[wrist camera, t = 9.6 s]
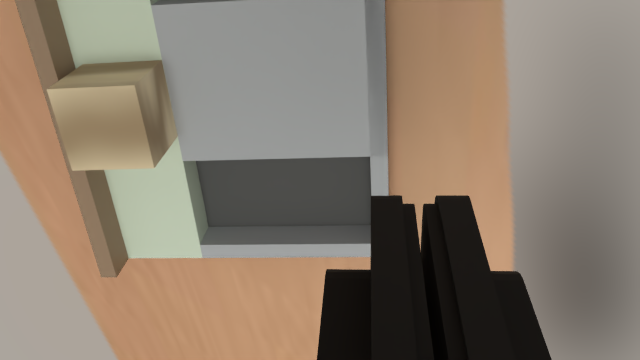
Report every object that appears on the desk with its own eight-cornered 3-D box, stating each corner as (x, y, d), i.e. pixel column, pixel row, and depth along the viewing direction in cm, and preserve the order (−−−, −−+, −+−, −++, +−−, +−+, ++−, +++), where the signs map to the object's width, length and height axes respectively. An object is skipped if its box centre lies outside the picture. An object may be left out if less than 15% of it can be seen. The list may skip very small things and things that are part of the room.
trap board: (25, -140, 30) (-29, -140, 26) (381, -171, 28) (382, -176, 24) (128, 236, 41) (101, 277, 37) (389, 234, 39) (389, 276, 35)
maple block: (82, 64, 32) (46, 89, 29) (161, 60, 32) (134, 85, 28) (103, 138, 34) (72, 170, 31) (177, 136, 34) (154, 168, 30)
